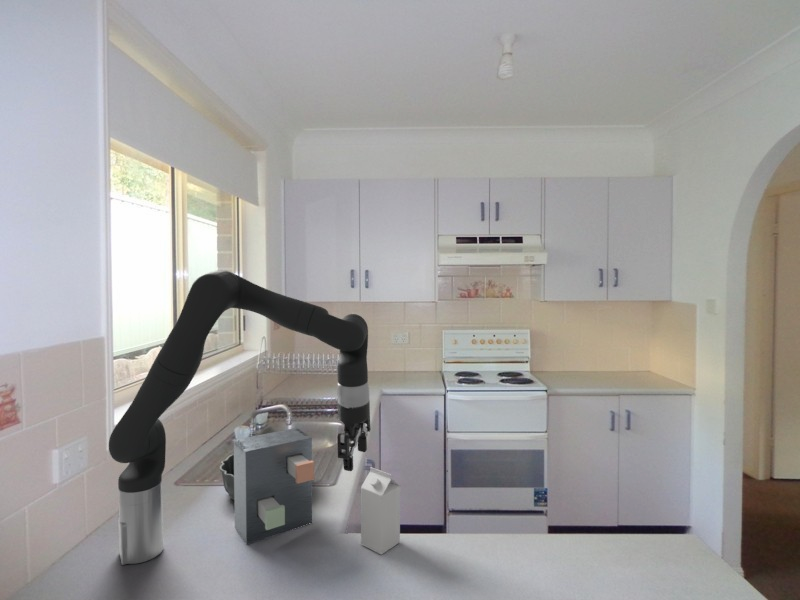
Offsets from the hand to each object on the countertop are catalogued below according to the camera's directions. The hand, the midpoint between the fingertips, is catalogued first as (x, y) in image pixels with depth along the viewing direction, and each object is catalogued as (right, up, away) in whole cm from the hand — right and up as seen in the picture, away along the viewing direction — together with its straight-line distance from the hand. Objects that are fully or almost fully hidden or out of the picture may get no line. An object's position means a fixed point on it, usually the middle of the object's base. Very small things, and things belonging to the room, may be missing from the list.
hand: (355, 460), depth 115 cm
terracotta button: (-16, -7, +9) cm, 19 cm away
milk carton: (+6, -23, +5) cm, 24 cm away
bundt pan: (-32, -21, +33) cm, 51 cm away
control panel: (-24, -22, +13) cm, 35 cm away
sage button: (-22, -17, +4) cm, 28 cm away
